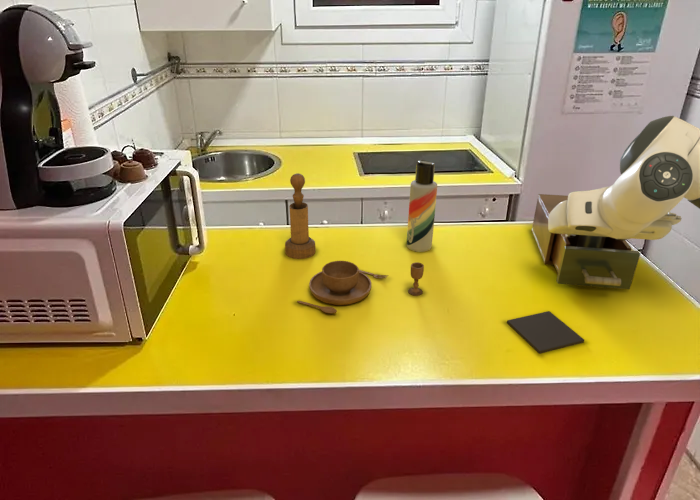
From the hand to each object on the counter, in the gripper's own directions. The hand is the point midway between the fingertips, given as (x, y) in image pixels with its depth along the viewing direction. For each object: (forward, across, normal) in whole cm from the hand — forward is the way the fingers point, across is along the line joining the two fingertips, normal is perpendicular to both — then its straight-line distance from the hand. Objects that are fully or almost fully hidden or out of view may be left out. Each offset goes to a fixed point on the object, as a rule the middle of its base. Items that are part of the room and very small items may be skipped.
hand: (593, 235), depth 102 cm
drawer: (+5, 0, +6) cm, 8 cm away
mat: (-10, +12, +21) cm, 26 cm away
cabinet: (+15, 0, -1) cm, 15 cm away
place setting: (-5, +44, +17) cm, 48 cm away
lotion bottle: (+12, +34, +2) cm, 36 cm away
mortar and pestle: (+7, +60, +6) cm, 60 cm away
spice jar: (+6, 0, +4) cm, 7 cm away
